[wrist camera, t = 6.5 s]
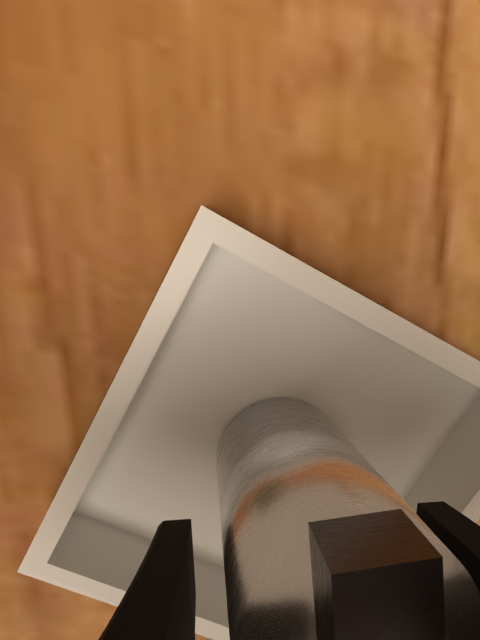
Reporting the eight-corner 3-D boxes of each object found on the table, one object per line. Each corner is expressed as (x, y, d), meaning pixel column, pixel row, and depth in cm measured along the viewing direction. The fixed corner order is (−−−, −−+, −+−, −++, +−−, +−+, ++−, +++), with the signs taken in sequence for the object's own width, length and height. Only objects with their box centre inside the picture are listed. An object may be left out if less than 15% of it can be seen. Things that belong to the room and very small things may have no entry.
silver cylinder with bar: (344, 514, 13) (542, 837, 5) (223, 531, 12) (254, 905, 5) (336, 383, 12) (541, 540, 5) (209, 398, 12) (221, 592, 4)
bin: (498, 373, 13) (564, 408, 10) (327, 611, 15) (349, 686, 12) (204, 209, 11) (201, 205, 9) (53, 507, 13) (17, 571, 11)
